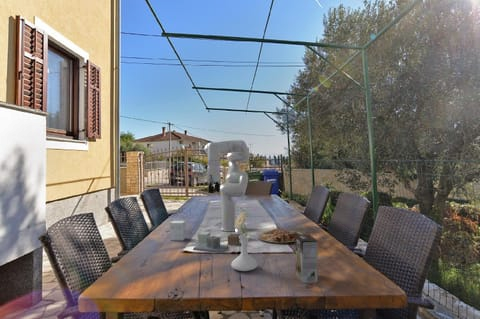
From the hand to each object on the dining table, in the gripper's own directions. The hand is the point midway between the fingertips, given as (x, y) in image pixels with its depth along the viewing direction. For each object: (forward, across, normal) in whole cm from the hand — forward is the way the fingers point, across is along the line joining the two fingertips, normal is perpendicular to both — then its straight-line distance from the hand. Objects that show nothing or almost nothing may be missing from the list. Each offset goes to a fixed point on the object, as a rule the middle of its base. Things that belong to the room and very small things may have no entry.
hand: (214, 192), depth 167 cm
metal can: (+28, -5, +14) cm, 32 cm away
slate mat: (+28, +18, +5) cm, 33 cm away
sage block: (+28, +6, -4) cm, 29 cm away
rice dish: (+29, -13, +38) cm, 49 cm away
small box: (+28, +6, -21) cm, 36 cm away
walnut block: (+28, +6, +14) cm, 32 cm away
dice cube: (+27, +18, +6) cm, 33 cm away
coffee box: (+28, +42, +56) cm, 75 cm away
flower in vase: (+28, +40, +30) cm, 57 cm away
